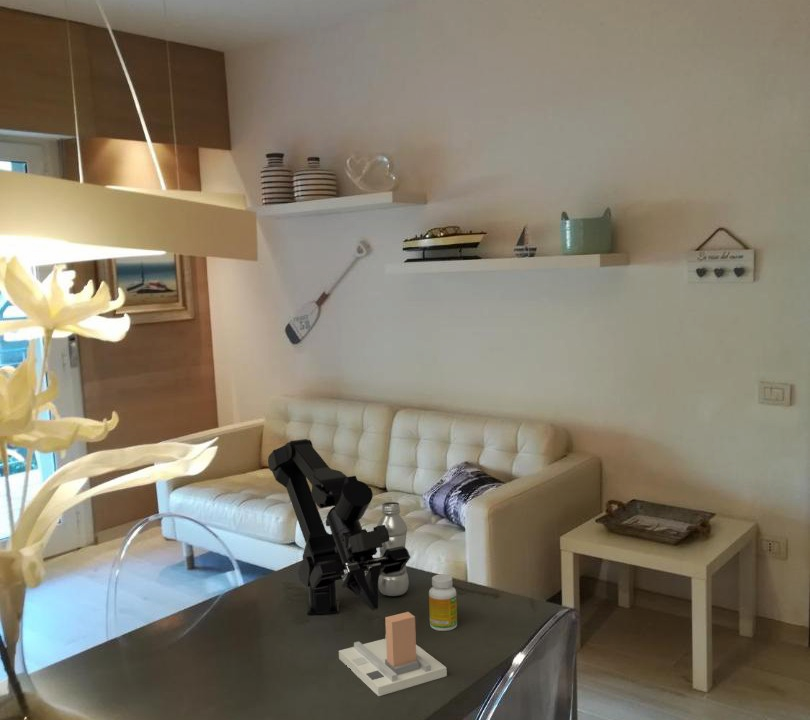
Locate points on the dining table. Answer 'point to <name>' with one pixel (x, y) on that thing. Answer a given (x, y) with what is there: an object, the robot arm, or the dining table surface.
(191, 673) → the dining table surface
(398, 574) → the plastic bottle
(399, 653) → the slide tab
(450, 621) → the supplement bottle
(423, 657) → the switch board
